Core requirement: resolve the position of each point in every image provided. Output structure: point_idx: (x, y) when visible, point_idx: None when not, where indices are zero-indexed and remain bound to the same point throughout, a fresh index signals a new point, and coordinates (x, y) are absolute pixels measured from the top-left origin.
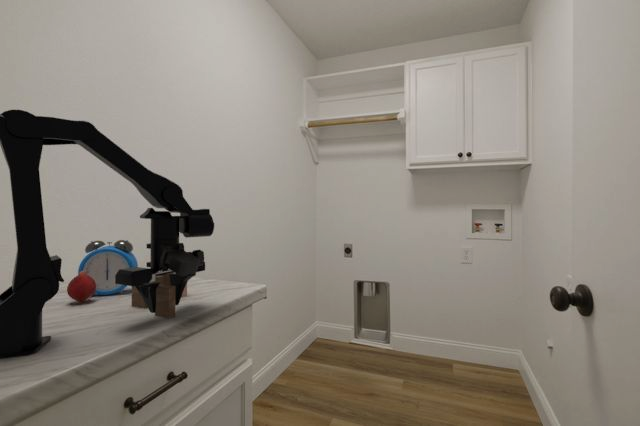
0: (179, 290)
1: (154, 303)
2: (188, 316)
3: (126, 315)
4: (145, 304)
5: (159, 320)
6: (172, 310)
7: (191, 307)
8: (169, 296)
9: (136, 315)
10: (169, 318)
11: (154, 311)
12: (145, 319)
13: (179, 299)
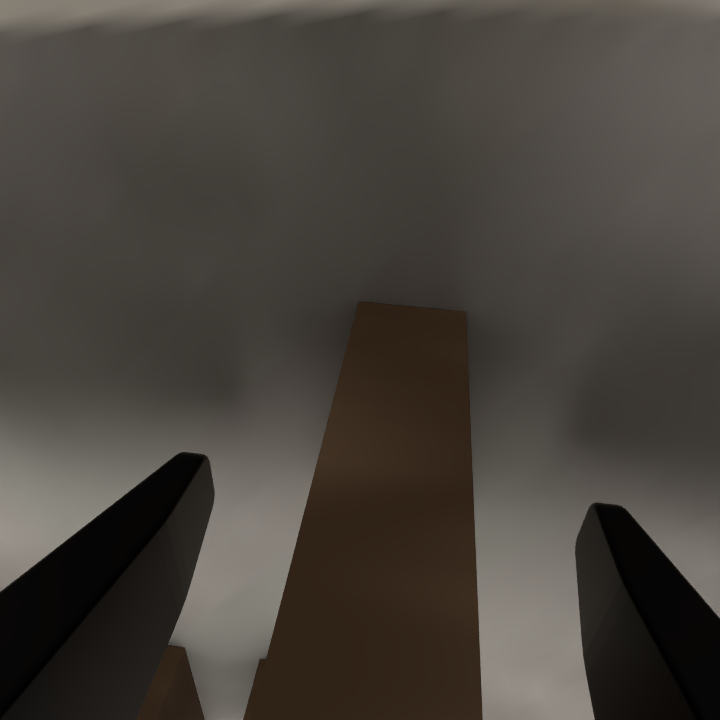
0: (53, 667)
1: (697, 635)
2: (264, 113)
3: (511, 678)
4: None
5: (560, 376)
6: (402, 368)
7: (8, 358)
8: (467, 621)
9: (485, 630)
10: (461, 311)
11: (619, 514)
12: (566, 518)
13: (137, 503)
